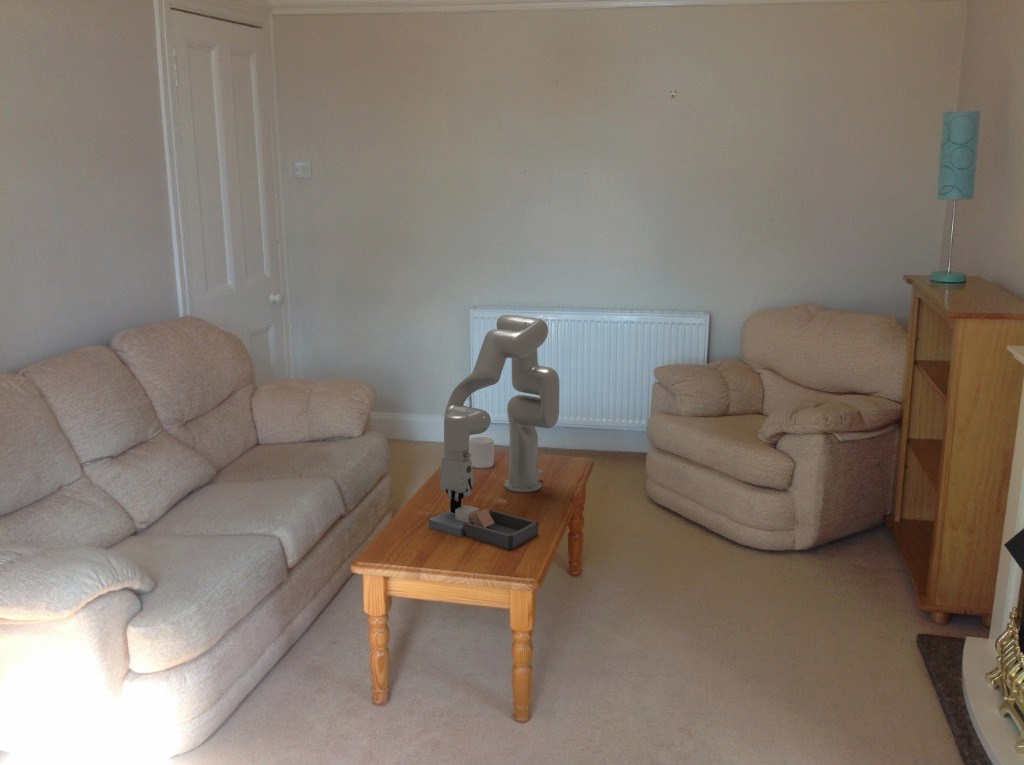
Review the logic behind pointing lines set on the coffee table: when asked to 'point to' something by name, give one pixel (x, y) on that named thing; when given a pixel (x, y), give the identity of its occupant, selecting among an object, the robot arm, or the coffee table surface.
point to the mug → (481, 451)
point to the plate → (448, 523)
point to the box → (503, 530)
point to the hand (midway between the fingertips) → (455, 511)
